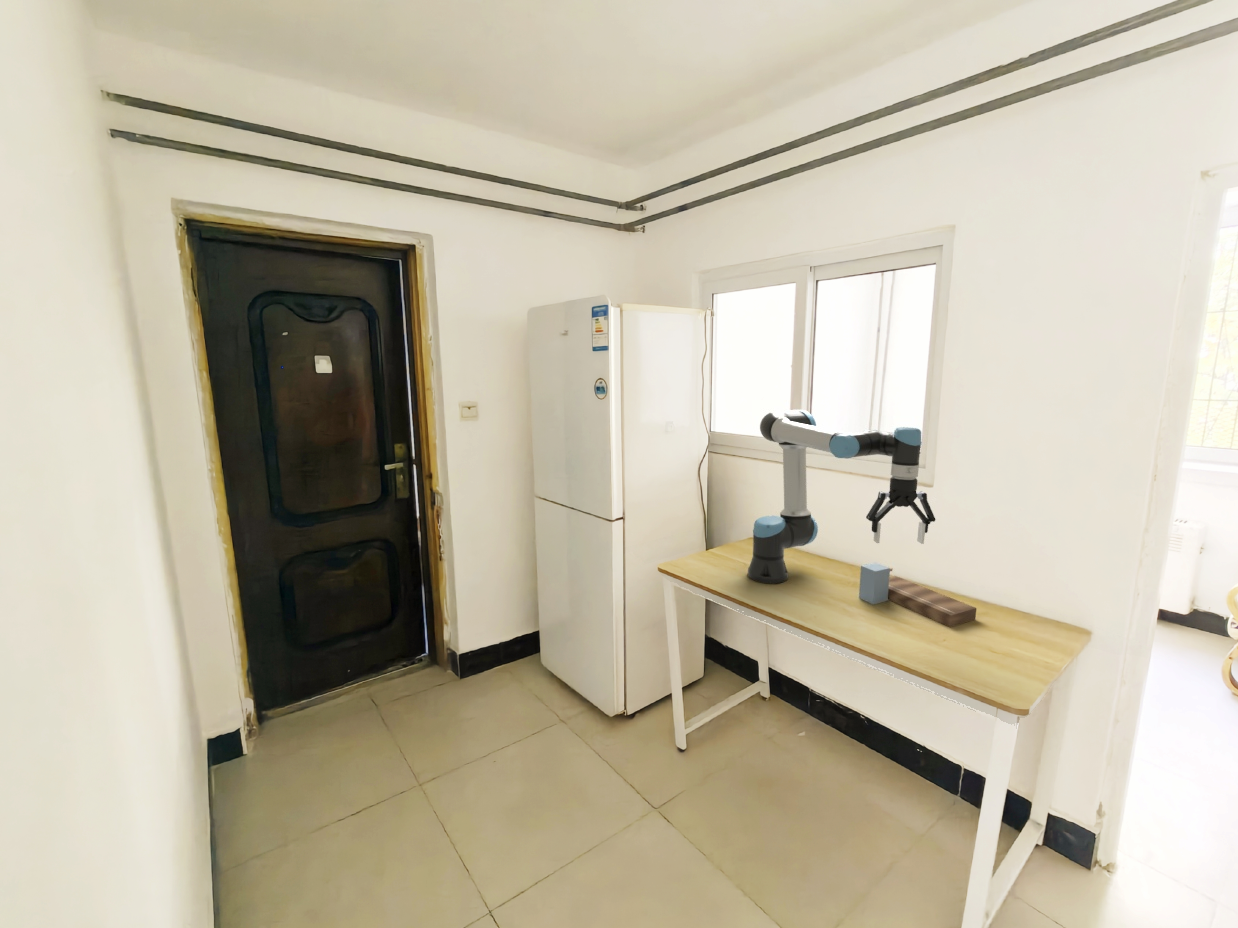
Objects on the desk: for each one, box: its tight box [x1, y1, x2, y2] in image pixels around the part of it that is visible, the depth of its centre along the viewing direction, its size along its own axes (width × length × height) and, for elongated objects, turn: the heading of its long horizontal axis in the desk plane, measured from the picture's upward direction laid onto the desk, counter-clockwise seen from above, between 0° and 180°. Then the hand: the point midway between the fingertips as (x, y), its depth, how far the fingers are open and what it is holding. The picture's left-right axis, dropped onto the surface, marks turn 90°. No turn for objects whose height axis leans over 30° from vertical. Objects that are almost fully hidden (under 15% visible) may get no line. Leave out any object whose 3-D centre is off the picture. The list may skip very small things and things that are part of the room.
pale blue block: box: [858, 562, 894, 605], centre depth 186 cm, size 6×11×12 cm, turn 113°
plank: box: [888, 575, 977, 628], centre depth 181 cm, size 30×12×4 cm, turn 23°
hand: (898, 542), depth 170 cm, fingers open, 13 cm apart
